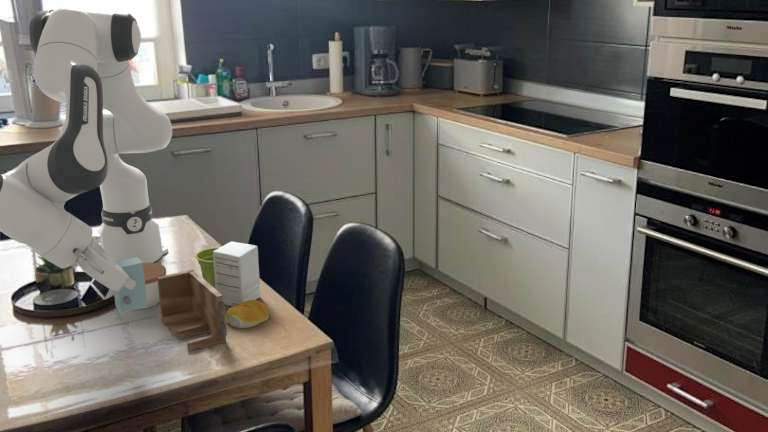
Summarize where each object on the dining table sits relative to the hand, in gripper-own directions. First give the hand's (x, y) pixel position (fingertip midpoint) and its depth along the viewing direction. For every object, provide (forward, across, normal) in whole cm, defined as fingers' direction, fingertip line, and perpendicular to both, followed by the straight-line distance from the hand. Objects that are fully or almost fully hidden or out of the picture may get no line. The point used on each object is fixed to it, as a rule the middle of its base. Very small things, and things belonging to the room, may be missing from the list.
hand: (129, 281), depth 145 cm
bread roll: (+29, +3, -6) cm, 30 cm away
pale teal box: (+4, 0, +4) cm, 5 cm away
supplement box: (+30, +13, -8) cm, 34 cm away
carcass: (+20, +4, +2) cm, 21 cm away
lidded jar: (+18, +24, +5) cm, 30 cm away
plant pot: (+30, +22, -7) cm, 38 cm away
